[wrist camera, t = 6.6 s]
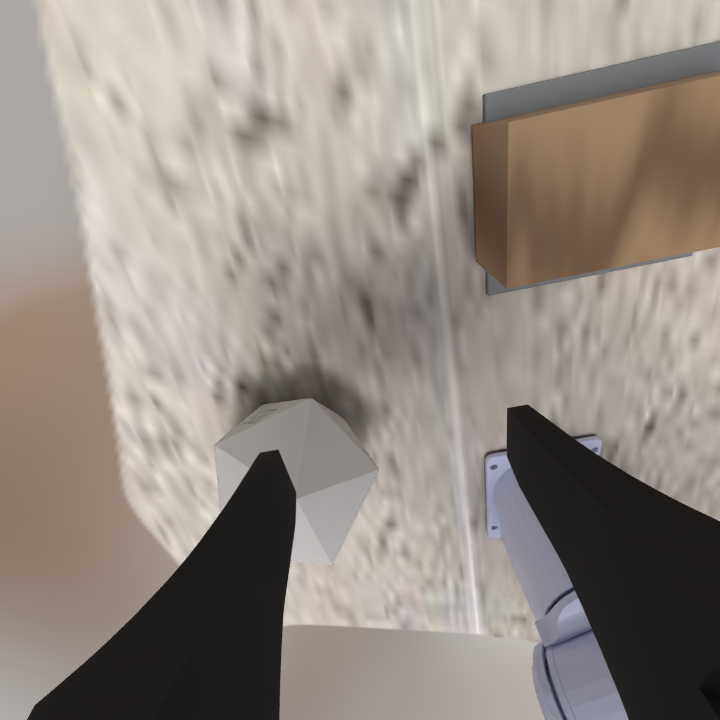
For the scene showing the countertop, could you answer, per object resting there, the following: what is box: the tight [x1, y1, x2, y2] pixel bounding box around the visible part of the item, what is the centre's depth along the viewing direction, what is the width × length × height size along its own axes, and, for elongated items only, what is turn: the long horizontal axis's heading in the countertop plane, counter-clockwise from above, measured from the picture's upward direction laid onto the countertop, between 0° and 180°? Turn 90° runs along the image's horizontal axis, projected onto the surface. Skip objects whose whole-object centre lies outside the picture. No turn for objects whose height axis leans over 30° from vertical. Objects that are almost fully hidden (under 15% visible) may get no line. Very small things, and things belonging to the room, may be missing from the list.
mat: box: [483, 42, 720, 296], centre depth 18 cm, size 9×11×1 cm
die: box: [214, 398, 379, 565], centre depth 21 cm, size 8×9×10 cm
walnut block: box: [472, 71, 720, 289], centre depth 16 cm, size 6×4×10 cm
